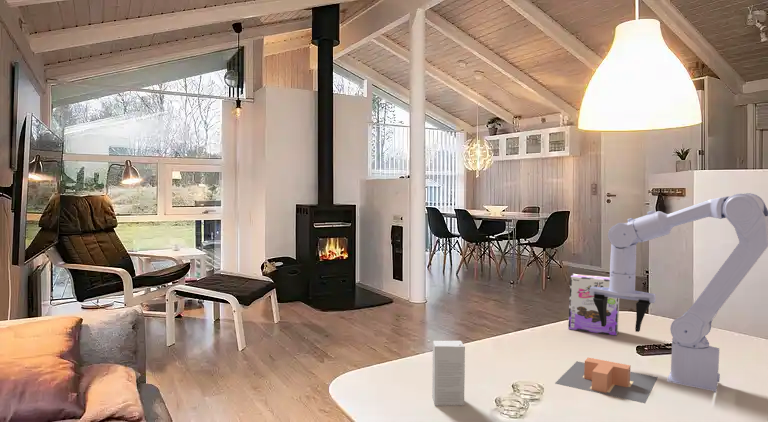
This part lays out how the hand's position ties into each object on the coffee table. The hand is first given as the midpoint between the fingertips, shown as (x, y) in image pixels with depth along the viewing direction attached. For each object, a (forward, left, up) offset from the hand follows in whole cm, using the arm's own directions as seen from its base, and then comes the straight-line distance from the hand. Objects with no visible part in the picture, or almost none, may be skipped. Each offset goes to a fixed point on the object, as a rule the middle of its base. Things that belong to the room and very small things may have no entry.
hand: (620, 328), depth 132 cm
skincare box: (+24, +44, -10) cm, 51 cm away
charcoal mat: (0, +13, -9) cm, 16 cm away
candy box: (+13, -30, -10) cm, 34 cm away
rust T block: (0, +17, -9) cm, 19 cm away
